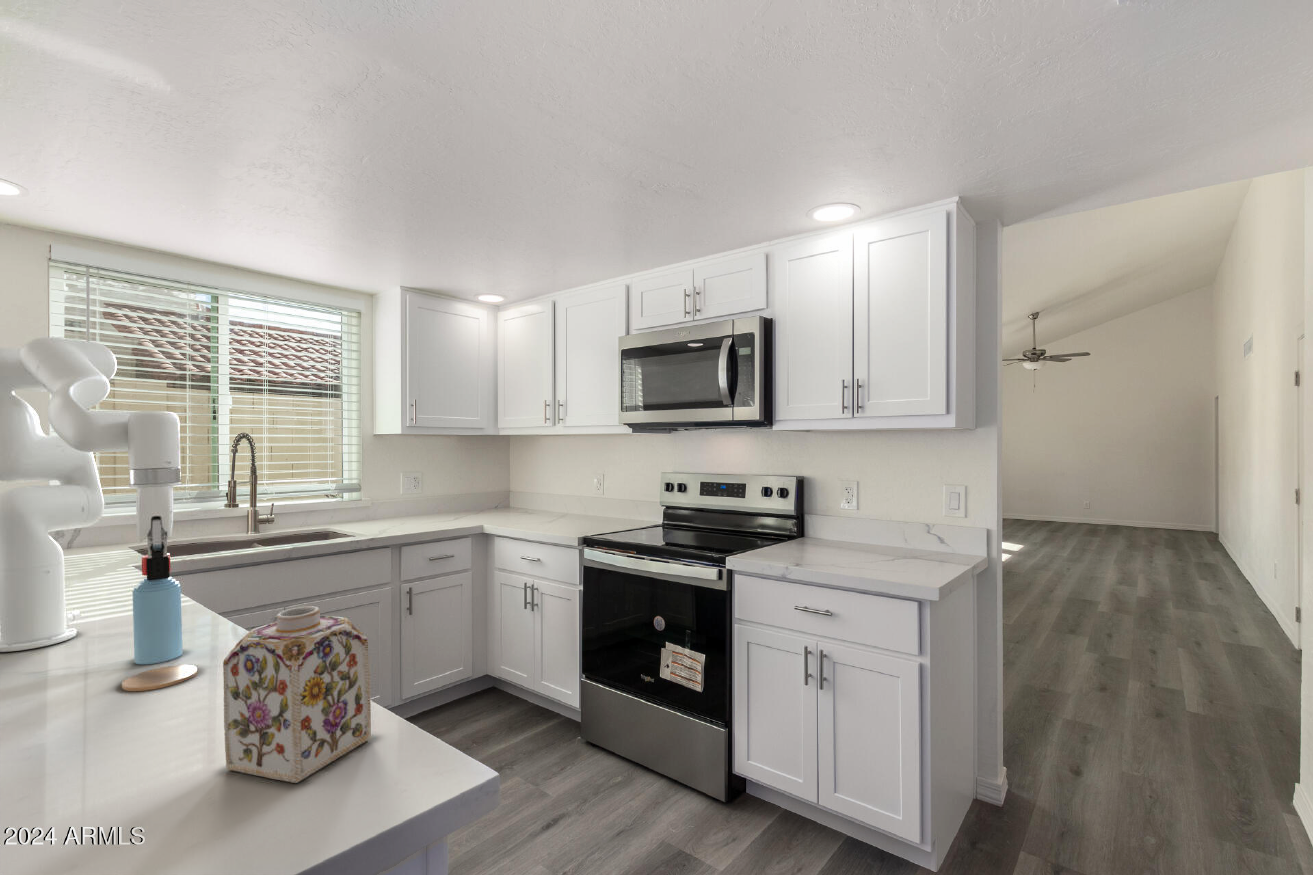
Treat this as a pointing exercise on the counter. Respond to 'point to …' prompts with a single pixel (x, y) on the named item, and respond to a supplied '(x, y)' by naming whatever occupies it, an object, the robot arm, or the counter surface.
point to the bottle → (157, 621)
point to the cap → (144, 564)
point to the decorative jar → (296, 695)
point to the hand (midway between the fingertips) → (158, 576)
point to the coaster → (159, 678)
